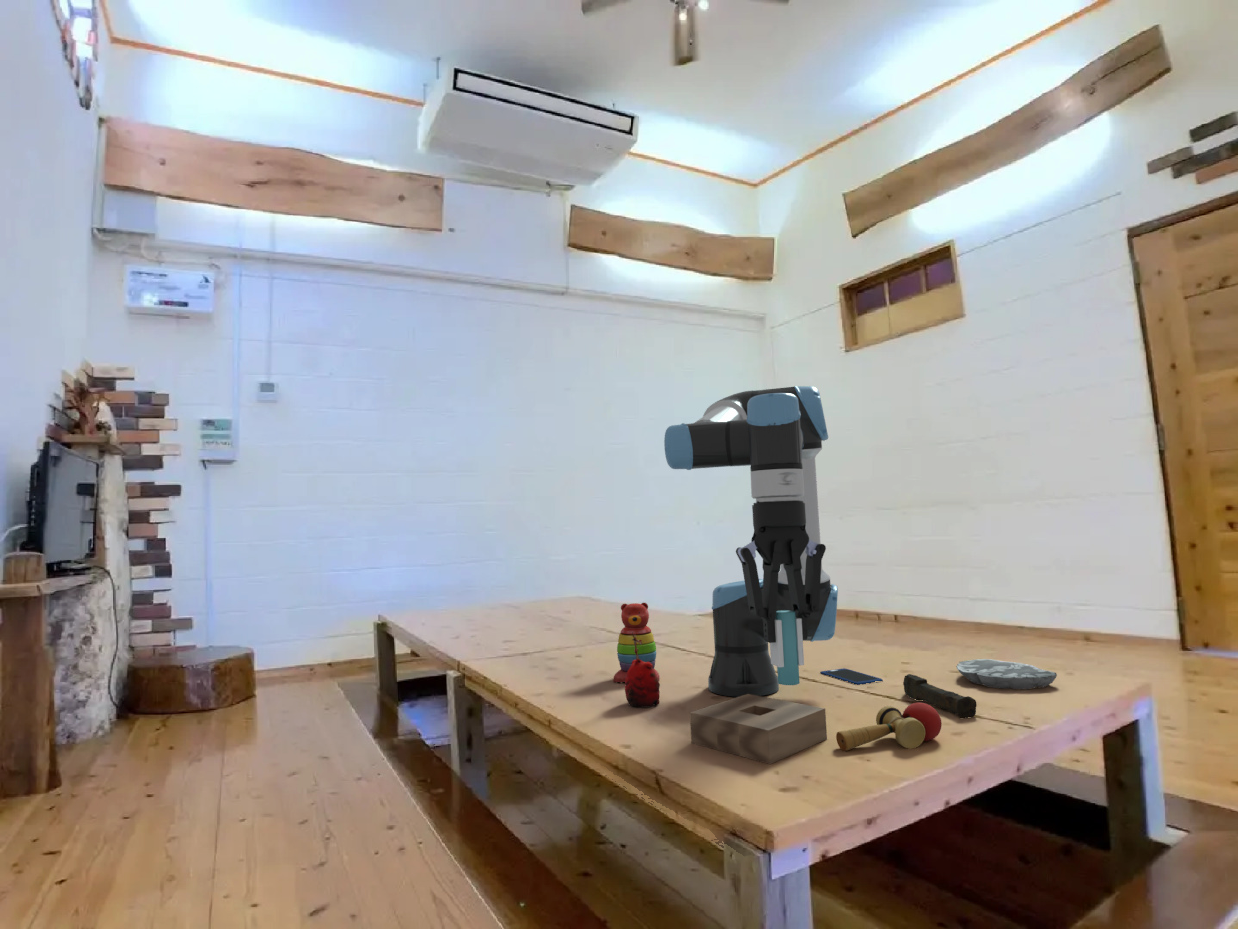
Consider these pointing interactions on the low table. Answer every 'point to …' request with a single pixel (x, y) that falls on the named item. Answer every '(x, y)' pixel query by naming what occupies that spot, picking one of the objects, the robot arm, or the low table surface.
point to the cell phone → (851, 676)
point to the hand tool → (939, 696)
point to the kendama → (896, 727)
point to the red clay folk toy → (641, 682)
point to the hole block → (758, 727)
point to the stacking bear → (634, 622)
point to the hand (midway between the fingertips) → (787, 664)
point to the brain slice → (1005, 674)
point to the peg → (788, 649)
